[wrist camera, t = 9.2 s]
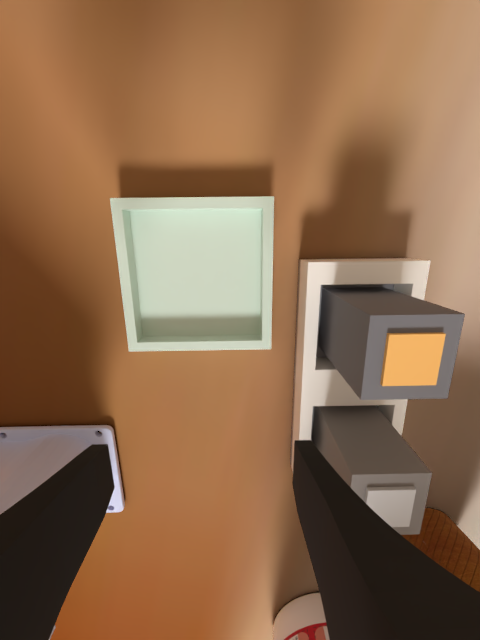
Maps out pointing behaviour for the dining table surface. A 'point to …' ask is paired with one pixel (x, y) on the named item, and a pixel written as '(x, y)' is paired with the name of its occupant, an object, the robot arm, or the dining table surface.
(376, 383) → the plug
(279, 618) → the fruit juice
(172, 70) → the dining table surface
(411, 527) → the twin plug
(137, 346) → the tray
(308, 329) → the strip
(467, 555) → the disposable coffee cup
